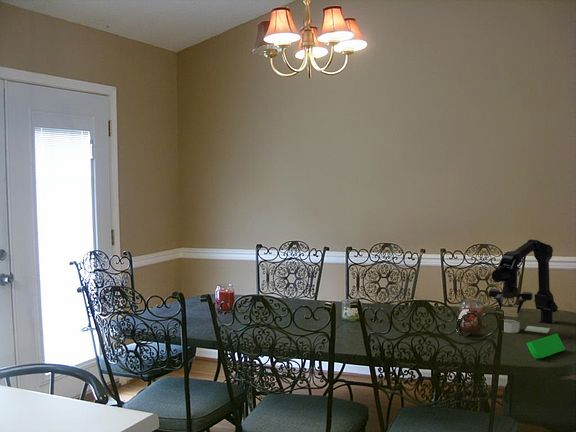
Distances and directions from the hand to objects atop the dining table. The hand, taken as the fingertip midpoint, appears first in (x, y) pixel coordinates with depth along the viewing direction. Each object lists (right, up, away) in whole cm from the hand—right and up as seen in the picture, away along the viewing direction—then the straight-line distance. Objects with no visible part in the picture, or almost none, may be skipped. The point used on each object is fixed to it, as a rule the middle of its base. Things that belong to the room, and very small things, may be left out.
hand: (510, 312), depth 270 cm
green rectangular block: (-1, -12, -33) cm, 35 cm away
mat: (+14, -9, +2) cm, 16 cm away
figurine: (-23, -10, -5) cm, 25 cm away
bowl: (0, -9, 0) cm, 9 cm away
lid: (0, -1, 0) cm, 1 cm away
